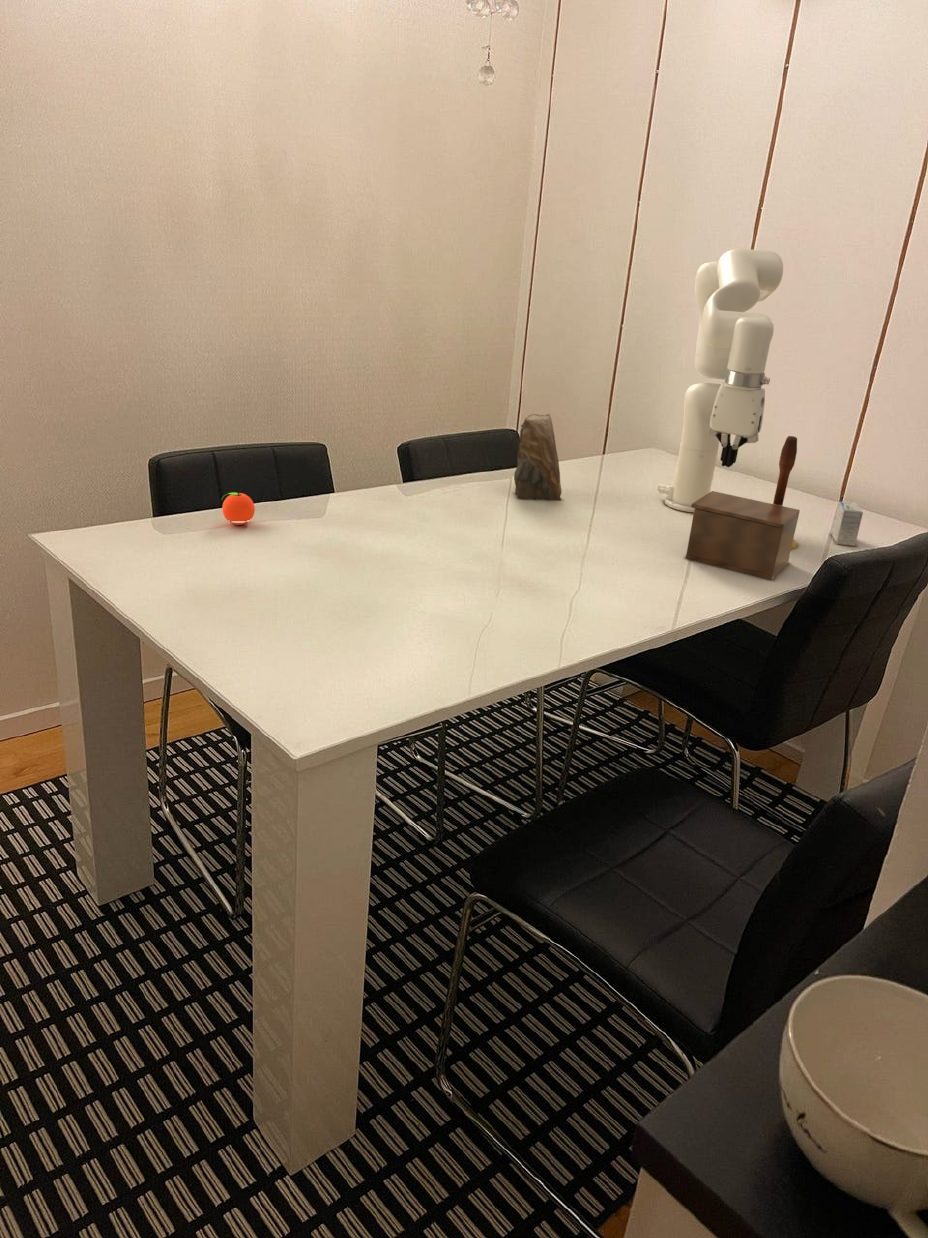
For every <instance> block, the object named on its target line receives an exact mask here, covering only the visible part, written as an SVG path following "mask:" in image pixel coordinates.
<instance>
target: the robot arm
mask: <svg viewBox="0 0 928 1238" xmlns="http://www.w3.org/2000/svg"><path fill="white" fill-rule="evenodd" d="M783 274H784V263H783V259H782V257H781V256H780V255H779V253H777V252H775V251H771V250H762V249H750V248H749V249H748V248H733V249H730V250H728V251H726V252H724V253H723V254H722V255H721V257H719V260H716V261H709V262H704V263H703V264H701V265H700V266H699V267H698V269H697V271H696V274H695V280H694V281H695V282H694V297H695V304H696V308H697V313H698V328H697V329H698V330H697V337H696V345H695V346H696V348H695V355H694V356H695V357H694V370H695V374H696V375H698V376H699V377H703V378H708V379H714V380H724V382H721V383H715V382H699V383H694V384H692V385H690V386H688V388H687V389H686V392H685V394H684V399H683V424H682V433H681V438H680V445H679V451H678V457H677V463H676V468H675V475H674V480H673V484H671V485H667V484H663V483H658V486H657V491H658V493H660V494H665V495H667V496H666V497H665V498H664V504H665V505H666V506H667V507H669V508H670V509H675V510H677V511H681V512H688V513H694V509H695V508H692V507H691V505H692V503H694V502H696V501H697V500H699V499H700V498H702V497H703V496H705V495H707V494H708V493H710V492H711V491H712V485H713V480H714V474H715V469H716V465H717V460H718V459H717V458H718V453H719V447H720V446H721V454H720V462H721V467H726V468H730V467H732V466H733V465H734V464H736V463H737V458H738V453H739V448H740V447H742V446H743V445H745V444H755V443H757V442H759V433H760V432H761V429H762V425H763V421H764V420H763V419H764V411H765V404H766V403H765V401H766V389H765V388H764V387H763V386H765V385H770V381H771V377H767V376H766V372H765V370H766V366H767V361H768V357H769V351H770V346H771V342H772V340H773V336H774V329H775V327H774V323H773V320H772V318H771V317H770V316H768V315H766V314H763V313H755V312H747V311H749V310H751V309H752V308H753V307H754V306H755V305H756V304H757V303H759V302H762V301H764V300H766V299H767V298H768V297H769V296H771V295H772V294H773V293H774V292H775V291H776V290H777V289H778V288H779V286H780V284H781V282H782V279H783ZM732 435H734V439H733V442H732V441H731V440H732V439H731V438H732ZM731 442H732V443H731Z"/></svg>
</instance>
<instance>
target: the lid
mask: <svg viewBox="0 0 928 1238" xmlns="http://www.w3.org/2000/svg"><path fill="white" fill-rule="evenodd" d="M691 507H692V508H697V509H701V510H706V511H710V512H714V513H719V514H723V515H728V516H732V517H736V518H741V519H745V520H750V521H754V522H758V523H763V524H767V525H772V526H776V527H780V528H784V527H785V526H786V525H787V524H788V523H789V522H790V521H791V520H792V519H793V518H795V517H796V516H797V515H798V514H799V515H800V511H801V510H800V509H799V508H797V509H796V508H793V507H788V506H784V505H783V506H779V505H775V504H773V503H769V502H764V501H760V500H755V499H752V498H746V497H742V496H738V495H732V494H728V493H723V492H719V491H715V490H711V491H710V493H708V494H707V495H705V496H703V497H702V498H700V499H699V500H697V501H696V502H694V503H692V505H691Z"/></svg>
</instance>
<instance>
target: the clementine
mask: <svg viewBox="0 0 928 1238" xmlns="http://www.w3.org/2000/svg"><path fill="white" fill-rule="evenodd" d="M227 495H228V496H227ZM225 496H227V497H226V498H225V499H224V501H223V498H224V497H225ZM220 501H223V503H222V507H221V508H222V514H223V516H224V518H225V519H226V520H227V519H228V520H230V521H247V520H250V519H251V520H252V519H253V518H254V516H255V512H256V508H255V503H254V501H253V499H252V498H251V497H250V496H248V495H247V494H245V493H242V492H228V493H225V494H224V495H223V496H222V497H221V500H220ZM228 520H227V521H228ZM251 520H250V521H251ZM230 523H231V524H233V525H237V526H242V525H246V524H247V523H248V522H246V523H232V522H230Z"/></svg>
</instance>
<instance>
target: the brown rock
mask: <svg viewBox="0 0 928 1238" xmlns="http://www.w3.org/2000/svg"><path fill="white" fill-rule="evenodd" d="M520 427H521V428H520V430H519V431H520V432H519V444H518V450H517V451H518V452H517V465H516V469H515V471H514V476H513V480H514V486H515V487H514V489H515V490H514V491H515V492H514V495H515V496H516V497H517V499H519V500H539V501H541V500H545V501H561V500H562V499H561V496H562V485H561V472H560V464H559V456H558V451H557V443H556V436H555V432H554V426H553V420H552V417H551V415H550V414H549V413H547V414H535V413H532V414H529V415H527V416H526V417H525V418H524V420H523V423H522V424H521V426H520Z"/></svg>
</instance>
